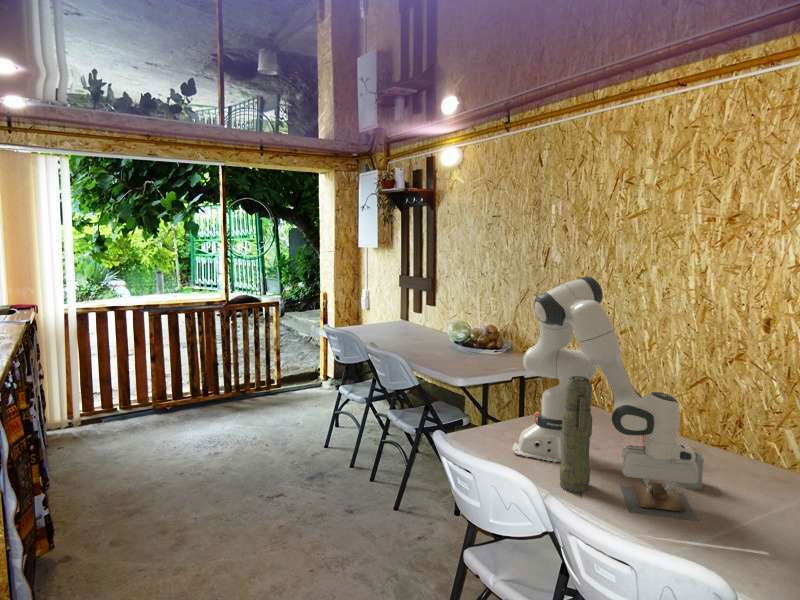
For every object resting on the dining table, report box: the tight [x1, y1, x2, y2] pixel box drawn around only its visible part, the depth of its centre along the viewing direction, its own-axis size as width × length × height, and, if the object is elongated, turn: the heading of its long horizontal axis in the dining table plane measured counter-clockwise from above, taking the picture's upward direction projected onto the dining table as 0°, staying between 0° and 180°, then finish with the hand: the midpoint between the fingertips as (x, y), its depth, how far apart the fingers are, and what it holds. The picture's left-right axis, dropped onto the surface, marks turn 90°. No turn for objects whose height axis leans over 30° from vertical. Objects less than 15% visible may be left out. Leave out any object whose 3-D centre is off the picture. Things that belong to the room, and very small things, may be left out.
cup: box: [674, 451, 705, 490], centre depth 172 cm, size 8×8×10 cm
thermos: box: [559, 376, 593, 494], centre depth 168 cm, size 9×12×35 cm
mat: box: [619, 485, 700, 522], centre depth 159 cm, size 18×18×1 cm
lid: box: [631, 481, 685, 512], centre depth 159 cm, size 12×12×4 cm
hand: (657, 493), depth 159 cm, fingers closed on lid, 3 cm apart
